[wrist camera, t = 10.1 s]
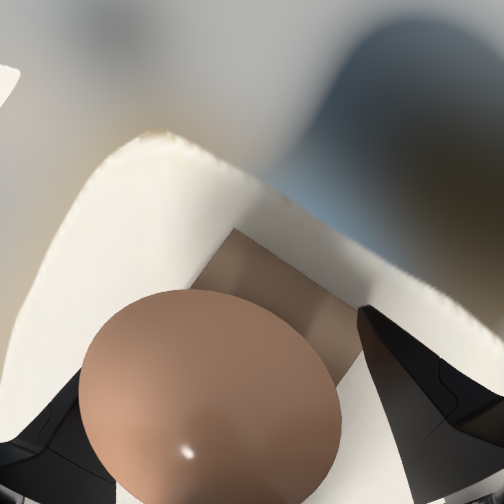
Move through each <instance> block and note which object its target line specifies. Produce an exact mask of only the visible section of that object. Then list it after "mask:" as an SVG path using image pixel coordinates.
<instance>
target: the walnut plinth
mask: <svg viewBox="0 0 504 504" xmlns="http://www.w3.org/2000/svg"><path fill="white" fill-rule="evenodd" d="M190 289H196V290H207V291H215V292H219V293H224V294H228V295H233V296H235V297H238V298H241V299H244V300H247V301H250V302H252V303H254V304H256V305H258V306H260V307H262V308H264V309H266V310H268V311H270V312H271V313H273V314H274V315H276V316H277V317H279V318H280V319H282V320H283V321H285V322H286V323H288V324H289V325H290V326H291V327H292V328H293V329H295V330H296V331H297V332H298V333H299V334H300V335H302V336H303V338H304V339H305V340H306V341H307V342H308V343H309V344H310V345H311V347H312V348H313V349H314V350H315V351H316V353H317V354H318V356H319V357H320V359H321V360H322V362H323V363H324V365H325V366H326V368H327V370H328V372H329V374H330V376H331V378H332V380H333V382H334V385H335V388H336V386H337V385H338V384H339V382H340V381H341V379H342V378H343V377H344V375H345V374H346V373H347V371H348V370H349V368H350V367H351V365H352V364H353V363H354V361H355V360H356V358H357V357H358V355H359V354H360V352H361V351H362V349H363V348H362V344H361V341H360V337H359V333H358V330H357V314H358V312H357V311H356V310H354V309H353V308H351V307H350V306H348V305H347V304H346V303H344V302H343V301H341V300H340V299H338V298H337V297H335V296H334V295H332V294H331V293H330V292H328V291H327V290H325V289H324V288H322V287H321V286H319V285H318V284H316V283H315V282H313V281H312V280H311V279H309V278H308V277H306V276H305V275H303V274H302V273H300V272H299V271H297V270H296V269H294V268H293V267H291V266H290V265H289V264H287V263H286V262H284V261H283V260H281V259H280V258H278V257H277V256H275V255H274V254H272V253H271V252H269V251H268V250H266V249H265V248H263V247H262V246H260V245H259V244H258V243H256V242H255V241H253V240H252V239H250V238H249V237H247V236H246V235H244V234H243V233H241V232H240V231H238V230H237V229H235V228H234V229H233V230H232V232H231V233H230V234H229V236H228V237H227V239H226V240H225V241H224V243H223V244H222V245H221V247H220V248H219V249H218V251H217V252H216V253H215V255H214V256H213V257H212V259H211V260H210V262H209V263H208V264H207V266H206V267H205V268H204V270H203V271H202V273H201V274H200V275H199V277H198V278H197V279H196V281H195V282H194V284H193V285H192V286H191V288H190Z"/></svg>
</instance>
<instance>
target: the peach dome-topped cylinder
mask: <svg viewBox="0 0 504 504" xmlns="http://www.w3.org/2000/svg"><path fill="white" fill-rule="evenodd" d="M79 406H80V412H81V418H82V421H83V425H84V428H85V431H86V434H87V436H88V439H89V441H90V444H91V446H92V448H93V449H94V451H95V453H96V455H97V456H98V458H99V460H100V461H101V463H102V464H103V465H104V467H105V468H106V469H107V471H108V472H109V473H110V474H111V475H112V477H113V478H114V479H115V480H116V481H117V482H118V483H119V484H120V485H121V486H122V487H123V488H124V489H126V490H127V491H128V492H129V493H130V494H132V495H133V496H134V497H136V498H137V499H138V500H140V501H141V502H143V503H144V504H300V503H302V502H303V501H304V500H305V499H306V498H308V497H309V496H310V495H311V494H312V493H313V492H314V491H315V490H316V489H317V488H318V486H319V485H320V484H321V483H322V481H323V480H324V479H325V477H326V476H327V474H328V472H329V470H330V469H331V467H332V465H333V462H334V460H335V457H336V454H337V452H338V448H339V443H340V438H341V422H342V417H341V410H340V402H339V398H338V395H337V392H336V388H335V385H334V382H333V380H332V378H331V376H330V374H329V372H328V370H327V368H326V366H325V365H324V363H323V362H322V360H321V359H320V357H319V356H318V354H317V353H316V351H315V350H314V349H313V348H312V347H311V345H310V344H309V343H308V342H307V341H306V340H305V339H304V338H303V336H302V335H300V334H299V333H298V332H297V331H296V330H295V329H293V328H292V327H291V326H290V325H289V324H288V323H286V322H285V321H283V320H282V319H280V318H279V317H277V316H276V315H274V314H273V313H271V312H270V311H268V310H266V309H264V308H262V307H260V306H258V305H256V304H254V303H252V302H250V301H247V300H244V299H241V298H238V297H235V296H233V295H228V294H224V293H219V292H215V291H207V290H196V289H189V290H173V291H167V292H161V293H157V294H154V295H151V296H147V297H144V298H142V299H140V300H138V301H136V302H133V303H131V304H129V305H128V306H126V307H125V308H123V309H122V310H120V311H119V312H117V313H116V314H115V315H114V316H113V317H112V318H110V319H109V320H108V321H107V322H106V323H105V324H104V325H103V327H102V328H101V329H100V330H99V332H98V333H97V334H96V336H95V337H94V339H93V341H92V343H91V344H90V346H89V348H88V350H87V353H86V355H85V358H84V361H83V364H82V369H81V373H80V380H79Z"/></svg>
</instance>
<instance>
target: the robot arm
mask: <svg viewBox="0 0 504 504" xmlns="http://www.w3.org/2000/svg"><path fill="white" fill-rule="evenodd" d="M357 330H358V333H359V337H360V341H361V344H362V348H363V351H364V355H365V359H366V362H367V366H368V369H369V371H370V374H371V376H372V379H373V382H374V384H375V387H376V389H377V392H378V395H379V397H380V400H381V403H382V405H383V408H384V411H385V413H386V416H387V419H388V422H389V425H390V427H391V430H392V433H393V436H394V439H395V442H396V445H397V448H398V451H399V454H400V457H401V460H402V464H403V467H404V470H405V474H406V477H407V480H408V484H409V487H410V490H411V494H412V498H413V501H414V504H427V503H430V502H433V501H436V500H438V499H441V498H444V500H445V503H444V504H504V397H503V396H500V395H498V394H495V393H494V392H492V391H490V390H489V389H487V388H485V387H484V386H482V385H480V384H479V383H477V382H476V381H474V380H472V379H471V378H469V377H467V376H466V375H464V374H463V373H461V372H460V371H458V370H457V369H456V368H454V367H453V366H451V365H450V364H449V363H447V362H446V361H445V360H444V359H442V358H440V357H439V356H438V355H437V354H436V353H434V352H433V351H432V350H430V349H429V348H428V347H426V346H425V345H424V344H422V343H421V342H420V341H418V340H417V339H416V338H415V337H413V336H412V335H411V334H409V333H408V332H407V331H405V330H404V329H403V328H401V327H400V326H398V325H397V324H396V323H394V322H393V321H392V320H390V319H389V318H388V317H386V316H385V315H384V314H382V313H381V312H380V311H378V310H377V309H375V308H374V307H373V306H371V305H365V306H361V307H359V308H358V314H357ZM81 369H82V367H81V368H80V369H79V371H78V372H77V373H76V374H75V375H74V376H73V377H72V378H71V379H70V380H69V381H68V383H67V384H66V385H65V386H64V387H63V388H62V389H61V390H60V391H59V393H58V394H57V395H56V396H55V397H54V398H53V399H52V402H50V403H49V404H48V405H47V406H46V407H45V408H44V409H43V411H42V412H41V413H40V414H39V415H38V416H37V417H36V418H35V419H34V420H33V421H32V422H31V423H30V424H29V425H28V426H27V427H26V428H25V429H24V430H23V431H22V432H21V433H20V434H19V435H18V436H17V437H16V438H14V439H13V440H11V441H8V442H3V443H0V504H116V480H115V479H114V478H113V477H112V475H111V474H110V473H109V472H108V471H107V469H106V468H105V467H104V465H103V464H102V463H101V461H100V460H99V458H98V456H97V455H96V453H95V451H94V449H93V448H92V446H91V444H90V441H89V439H88V436H87V434H86V431H85V428H84V425H83V421H82V418H81V412H80V406H79V380H80V373H81Z"/></svg>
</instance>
